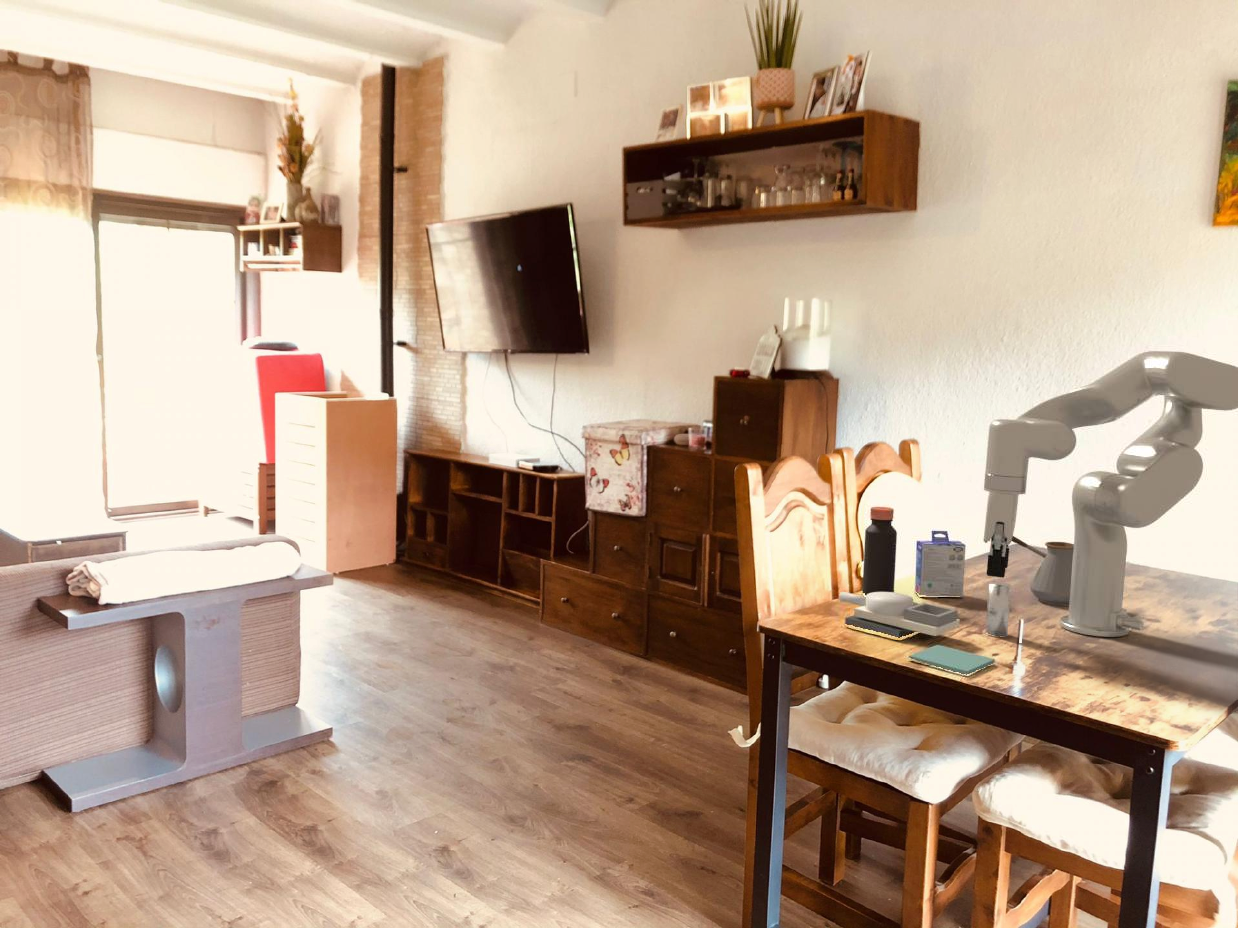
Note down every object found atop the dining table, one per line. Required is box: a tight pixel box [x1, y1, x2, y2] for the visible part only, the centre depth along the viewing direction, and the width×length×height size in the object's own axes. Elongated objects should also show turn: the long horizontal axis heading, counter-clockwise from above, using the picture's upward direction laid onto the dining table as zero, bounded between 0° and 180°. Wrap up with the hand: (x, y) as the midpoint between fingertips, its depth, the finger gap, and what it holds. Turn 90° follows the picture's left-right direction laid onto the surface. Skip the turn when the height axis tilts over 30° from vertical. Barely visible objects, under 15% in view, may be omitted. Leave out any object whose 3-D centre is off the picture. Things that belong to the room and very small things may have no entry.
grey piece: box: [985, 581, 1012, 637], centre depth 193 cm, size 4×4×10 cm
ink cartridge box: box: [914, 530, 967, 597], centre depth 222 cm, size 10×6×14 cm, turn 89°
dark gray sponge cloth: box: [844, 614, 917, 638], centre depth 196 cm, size 12×12×2 cm
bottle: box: [861, 506, 898, 595], centre depth 219 cm, size 7×7×20 cm
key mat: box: [908, 644, 996, 675], centre depth 176 cm, size 11×10×1 cm
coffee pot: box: [1011, 535, 1074, 607], centre depth 222 cm, size 21×12×15 cm, turn 53°
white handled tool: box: [838, 591, 961, 637], centre depth 195 cm, size 24×9×4 cm, turn 43°
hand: (997, 571), depth 192 cm, fingers open, 9 cm apart
